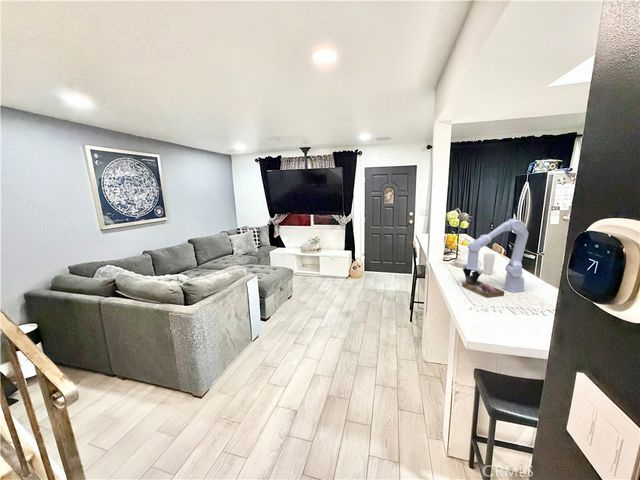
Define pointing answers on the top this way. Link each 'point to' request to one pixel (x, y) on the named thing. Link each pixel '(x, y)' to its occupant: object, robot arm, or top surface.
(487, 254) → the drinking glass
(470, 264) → the robot arm
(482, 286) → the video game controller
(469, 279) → the sliding frame
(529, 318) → the top surface
